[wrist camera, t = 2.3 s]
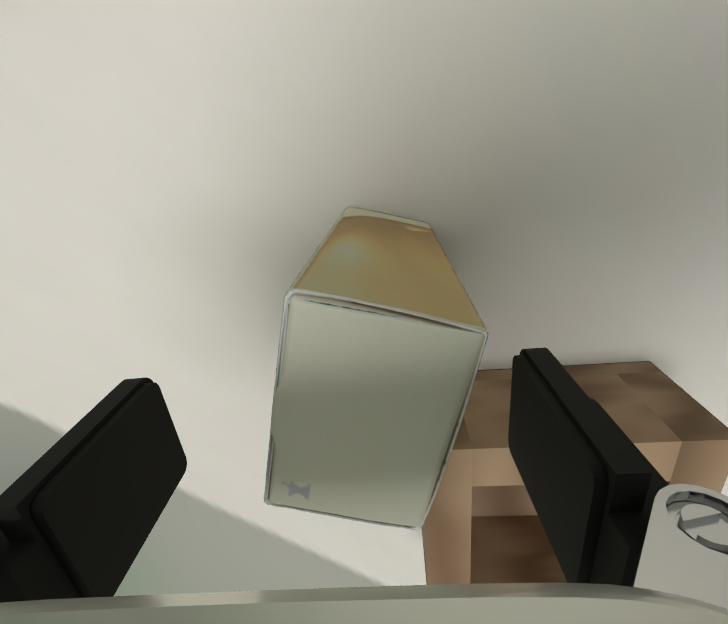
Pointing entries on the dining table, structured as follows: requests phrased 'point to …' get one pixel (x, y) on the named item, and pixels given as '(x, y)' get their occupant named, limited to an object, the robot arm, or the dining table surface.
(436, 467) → the skincare box
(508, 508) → the socket block
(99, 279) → the dining table surface
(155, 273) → the dining table surface
